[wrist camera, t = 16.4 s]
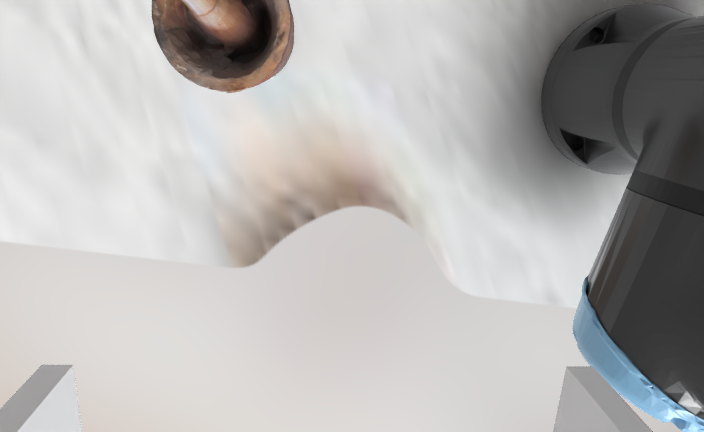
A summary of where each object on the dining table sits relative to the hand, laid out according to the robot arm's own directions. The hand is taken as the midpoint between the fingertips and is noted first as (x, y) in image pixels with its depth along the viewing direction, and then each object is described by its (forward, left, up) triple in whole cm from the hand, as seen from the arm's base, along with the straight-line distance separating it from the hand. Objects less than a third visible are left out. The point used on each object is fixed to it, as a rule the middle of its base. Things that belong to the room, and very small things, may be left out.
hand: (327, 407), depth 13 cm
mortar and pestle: (+8, -12, -35) cm, 38 cm away
